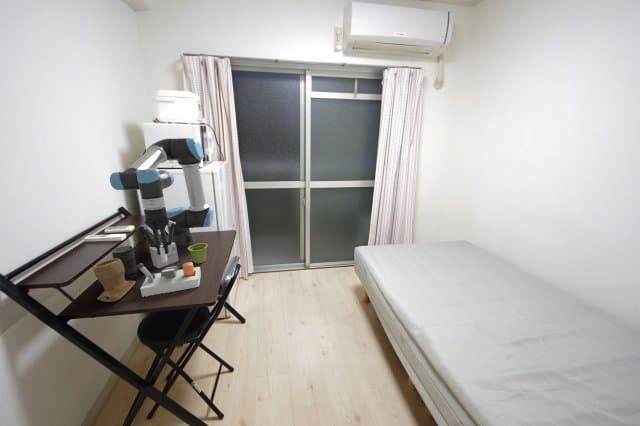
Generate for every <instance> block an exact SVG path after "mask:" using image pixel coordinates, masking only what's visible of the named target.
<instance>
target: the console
mask: <svg viewBox="0 0 640 426" xmlns="http://www.w3.org/2000/svg"><path fill="white" fill-rule="evenodd" d="M194 273H195V276H191V277H185V278H184V272H183V268H182V269H178V271H177V272H176V274H175V275H171V276H165V277H161V272H158V273H151V274H152V275H153V276H154V278H148V277H147V276H145V277H146V278H145V280H144V282H143V283H142V285H141V287H140V288H139V289H140V292H141V297H142V298H144V296H145V297H150V295H151V296H156V295H162V294H166V293H167V294H168V293H171V292H177V291H182V290H188V289H194V288H199V287H200V282H201V275H202V272H201V267H200V266H196V267H194ZM161 293H162V294H161ZM155 294H156V295H155Z"/></svg>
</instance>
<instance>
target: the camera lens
mask: <svg viewBox="0 0 640 426" xmlns="http://www.w3.org/2000/svg"><path fill="white" fill-rule="evenodd" d="M111 251H112V252H111V254H112V259H116V258H118V259H120V260H121V261H122V263H123V266H124V269H125V274H124V277H125V281H132V280H133V279H135V278H137V277H138V275H139V274H138V273H139V268H137V265H138V264H137V261H136V255H135V250H134V247H133V246H132V245H121V246H118V247H116V248H114V249H113V250H111Z"/></svg>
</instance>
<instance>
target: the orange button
mask: <svg viewBox="0 0 640 426" xmlns="http://www.w3.org/2000/svg"><path fill="white" fill-rule="evenodd" d="M194 268H195V267H194V262H191V261H190V262H189V261H188V262H184V263H183V264H182V269H183V272H184V278H185V277H191V276H195V273H194Z"/></svg>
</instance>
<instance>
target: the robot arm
mask: <svg viewBox="0 0 640 426" xmlns="http://www.w3.org/2000/svg"><path fill="white" fill-rule="evenodd" d="M203 159H204V151H203V147H202V145H201V143H200V141H199V139H197V138H189V137H187V138H186V137H185V138H184V137H183V138H180V137H179V138H178V137H177V138H163V139H161V140H157V141H156V142H154V143H152V144H151V145H149V146H148V147H147V148H146V150H145V153H144V154H142V155H141V156H140V157H139V158H138V159H137V160H136V161H134V162H133V163H132V164H130V166H128V167H127V168H126V169H125V170H124V171H117V172H116V171H115V172H112V173H111V174H110V176H109V184H110V186H111V187H112V188H113V190H115V191H116V190H117V191H134V190H135V191H136V190H139V192H140V198H141V203H142V208H143V209H144V210H143V213H144V217H145V221H144V223H143V224H141V225H140V226H139V229H140V231H141V232H142V233H143V234H144V236H145V238H146V240H147V242H148V244H149V245H150V246H149V247H155V248H157V252H158V255H161V258H162V263H163V262H167V254H168V252H169V250H168V246H169V245H171V244H172V242H174V243H175V244H176V249H183V248H188V247H190V246H191V245H194V244H195V242H196V241H195V237H194V236H193V234H192V233H191V230H190V229H196V228H197V229H198V228H200V229H201V228H209V227H211V226H212V224H213V221H214V210H213V208H211V207H210V206H209V204H208V203H206V198H205V192H204V187H203V181H202V177H201V169H200V165H201V163H202V160H203ZM166 161H177V162H178V163H177V164H178V165H179V166H180V167H181V168H182V173H183V178H184V182H185V186H186V187H185V188H186V190H187V195H188V200H189V206H188V208H187V207H186V206H177V207H174V208H171V209H170V208H169V209H168V210H167V208H166V207H165V206H166V203H165V198H164V197H165V196H164V192H163V190H165V189H168V188H169V187H171V186H172V185H173V184H174V182H175V177H174V175H173V174H172V173H171V172H170V171H168V170H166V169H163V170H159V169H158V168H157V167H158V166H159V165H160V164H163V163H165V162H166ZM166 228H167V231H168V237H167V232H166ZM149 229H151V231H152V233H153V236H152V234H151V232H150V230H149ZM159 232H160V233H159ZM160 236H161V239H160ZM167 241H168V242H167ZM161 243H163V246H161Z"/></svg>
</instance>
